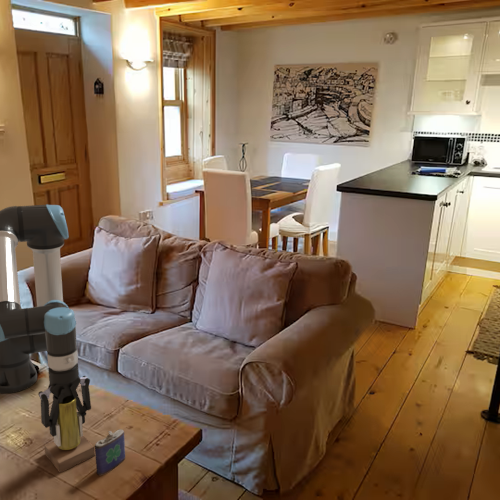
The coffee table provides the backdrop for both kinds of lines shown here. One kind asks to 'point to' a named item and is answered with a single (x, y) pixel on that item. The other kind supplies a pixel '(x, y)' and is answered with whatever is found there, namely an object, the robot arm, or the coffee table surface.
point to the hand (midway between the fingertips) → (68, 438)
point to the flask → (110, 452)
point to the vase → (68, 424)
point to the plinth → (69, 454)
